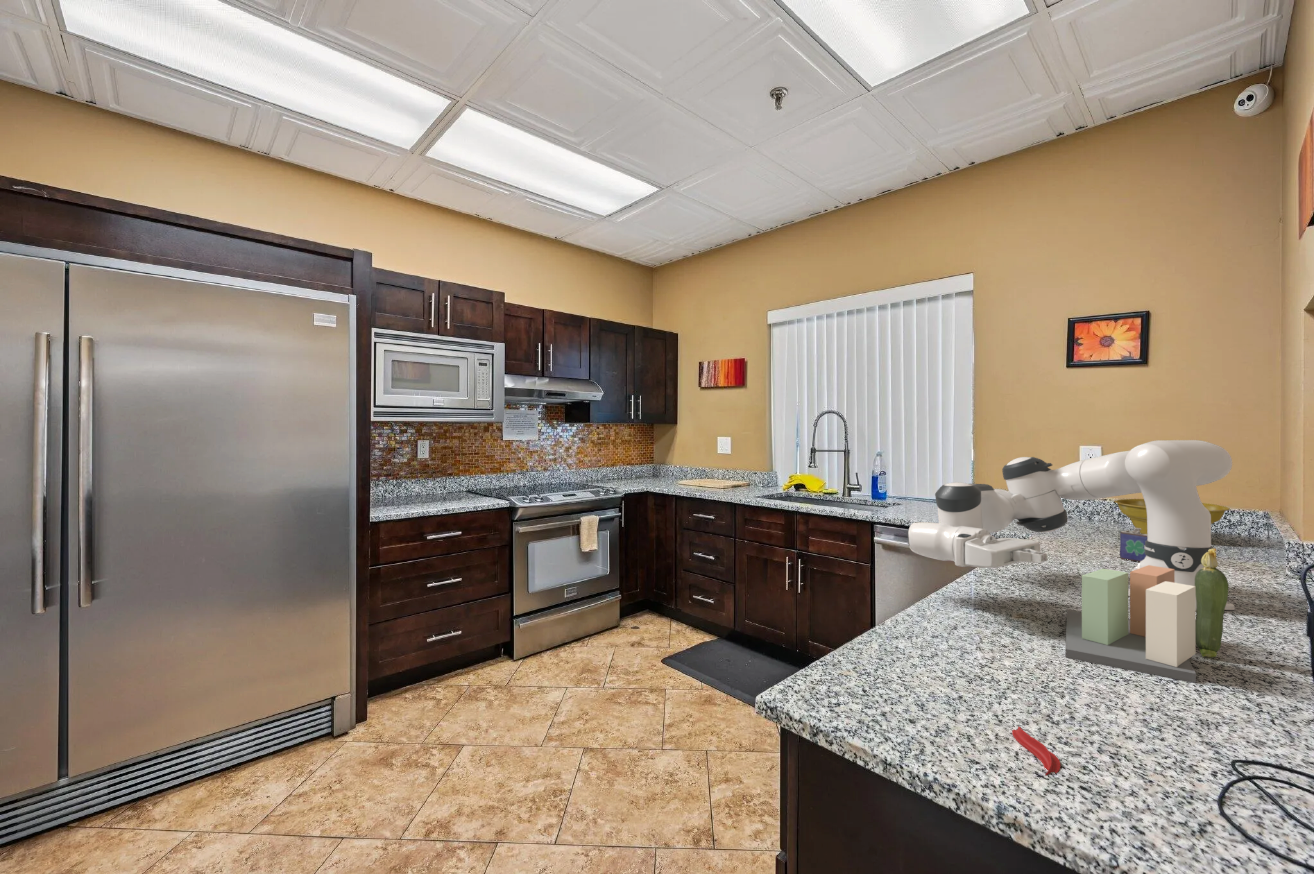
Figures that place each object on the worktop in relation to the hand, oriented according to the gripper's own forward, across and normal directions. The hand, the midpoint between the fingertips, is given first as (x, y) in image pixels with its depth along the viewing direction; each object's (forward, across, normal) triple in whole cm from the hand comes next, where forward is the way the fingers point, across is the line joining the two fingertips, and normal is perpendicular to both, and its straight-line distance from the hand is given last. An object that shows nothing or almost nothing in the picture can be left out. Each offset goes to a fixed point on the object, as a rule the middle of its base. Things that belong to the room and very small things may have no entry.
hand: (1044, 558), depth 113 cm
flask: (-12, -92, -15) cm, 94 cm away
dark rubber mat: (+12, -3, -15) cm, 19 cm away
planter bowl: (-20, -150, -14) cm, 152 cm away
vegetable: (+23, -10, -15) cm, 29 cm away
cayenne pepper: (+20, +50, -16) cm, 56 cm away
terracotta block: (+14, -12, -13) cm, 22 cm away
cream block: (+20, +1, -13) cm, 24 cm away
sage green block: (+10, 0, -13) cm, 17 cm away
